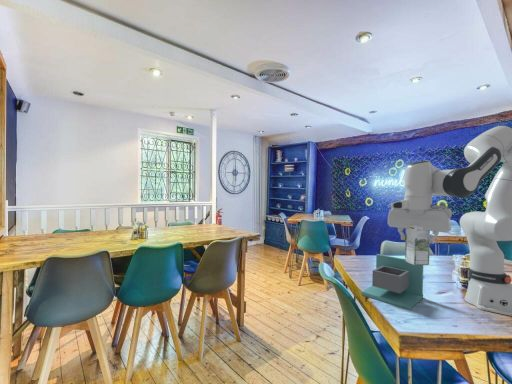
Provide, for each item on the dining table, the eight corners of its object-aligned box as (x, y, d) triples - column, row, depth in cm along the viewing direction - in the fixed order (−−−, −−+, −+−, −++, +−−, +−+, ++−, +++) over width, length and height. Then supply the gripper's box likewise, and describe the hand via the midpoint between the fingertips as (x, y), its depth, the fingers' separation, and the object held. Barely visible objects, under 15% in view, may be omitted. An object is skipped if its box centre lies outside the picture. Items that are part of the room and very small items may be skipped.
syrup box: (419, 261, 102) (419, 223, 102) (429, 265, 96) (430, 225, 96) (404, 261, 102) (405, 223, 102) (414, 265, 96) (414, 225, 96)
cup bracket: (423, 297, 119) (423, 262, 119) (410, 309, 107) (410, 270, 107) (377, 285, 134) (378, 253, 134) (361, 294, 121) (362, 260, 121)
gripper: (453, 205, 94) (453, 244, 94) (392, 203, 108) (391, 236, 109) (449, 206, 89) (449, 247, 89) (386, 203, 104) (385, 238, 104)
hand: (417, 241), depth 99 cm, fingers closed on syrup box, 8 cm apart
